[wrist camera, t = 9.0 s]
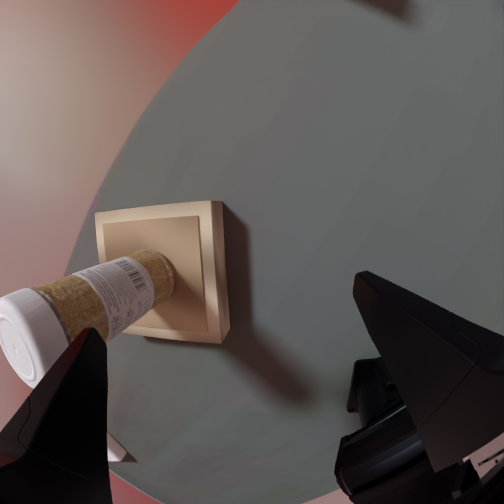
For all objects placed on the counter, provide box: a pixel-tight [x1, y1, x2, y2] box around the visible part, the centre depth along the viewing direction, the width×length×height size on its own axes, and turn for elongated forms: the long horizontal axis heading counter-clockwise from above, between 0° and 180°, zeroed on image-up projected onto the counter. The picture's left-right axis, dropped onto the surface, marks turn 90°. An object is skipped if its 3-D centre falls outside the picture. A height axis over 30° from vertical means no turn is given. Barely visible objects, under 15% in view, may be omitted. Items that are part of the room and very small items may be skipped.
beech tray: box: [95, 201, 230, 344], centre depth 22 cm, size 11×11×3 cm
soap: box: [107, 432, 127, 462], centre depth 30 cm, size 9×6×3 cm, turn 122°
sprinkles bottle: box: [0, 249, 174, 389], centre depth 14 cm, size 5×5×14 cm
